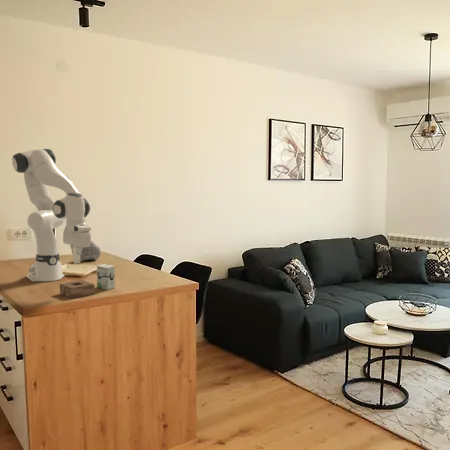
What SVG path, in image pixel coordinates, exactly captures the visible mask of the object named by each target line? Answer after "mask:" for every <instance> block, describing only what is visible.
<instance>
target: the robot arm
mask: <svg viewBox="0 0 450 450" xmlns="http://www.w3.org/2000/svg"><path fill="white" fill-rule="evenodd" d="M11 158H12V159H11V160H12V161H11V162H12V163H11V164H12V166H13V169H14V171H16V172H17V173H21V174H23V179H24V183H25V188H26V191H27V195H28V197H29V201H30V203H31V204H32V205H34V206H35V208H37V210H36V211H34V212H32V213H30V214H29V215H28V217H27V225H28V227H29V228H30V229H31V230H32V231H33V234H34V235H35V240H36V254H35V261H34V262H33V264H32V265H31V266H30V267H29V268H28V271H29V273H28V274H26V275H25V277H26V278H27V279H29V280H30V281H31V282H53V281H59V280H61V279H62V278H64V277H65V274H64V273H63V268H62V267H63V266H62V262H61V261H60V252H59V240H58V238H57V237H56V235H55V233H54V230H53V229H56V228H59V227H61V226H62V225H63V224H64V223H65V222H66V224H65V227H64V229H63V233H62V242H63V244H66V245H69V247H70V250H71V254H72V255H73V245H74V246H77V248H78V251H77V255H81V251H82V249H83V247H89V246H90V244H91V241H92V239H91V238H92V237H91V236H92V235H91V231H92V229H91V228H92V227H91V225H89V224H87V222H86V217H87V216H88V215H89V213H90V212H91V206H90V203H89V201H88V200H87V199H86V198H85V197H84V195H82V194H81V193H80V191H79V190H78V189H77V187H76V186H75V184H74V183H73V181H72V180H71V179H70V178H69V177H68V176H67V175H66V174H65V173H63V172H62V171H61V170H60V169H59V168H58V166H57V165H56V156H55V152H53V151H52V150H51V149H50V148H42V149H31V150H28V151H23V152H19V153H17V152H16V154H13V155H12V157H11ZM49 187H53V188H57V189H58V190H62V191H63V192H64V193H65V197H63V198H60V199H58V200H56V201H54V199H53V197H52V195H51V192H50V188H49Z"/></svg>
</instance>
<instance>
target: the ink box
mask: <svg viewBox="0 0 450 450" xmlns="http://www.w3.org/2000/svg"><path fill="white" fill-rule="evenodd" d="M115 270H116V269H115V266H114V265H111V264H106V263H105V264H104V263H102V264H98V265H97V266H96V288H98V289H102V290H107V291H108V290H112V289H113V290H114V289H115V287H116V286H115V285H116V283H115V282H116V281H115V278H116V276H115V273H116V272H115Z"/></svg>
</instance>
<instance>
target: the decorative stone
mask: <svg viewBox="0 0 450 450" xmlns="http://www.w3.org/2000/svg"><path fill="white" fill-rule="evenodd" d="M101 254H102V253H101V249H100V247H99V245H97V244H96V243H95V242H93V240H91V244H90V246H89V247H83V249H82V251H81V255H80V261H83V262H84V261H96V260H98V259H99V258H100V257H101Z"/></svg>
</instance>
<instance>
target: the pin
mask: <svg viewBox="0 0 450 450" xmlns="http://www.w3.org/2000/svg"><path fill="white" fill-rule="evenodd" d="M77 251H78V248H77V246H74V245H73V254H72V256H73V259H72V261H73V264H81V260H80V255H77Z"/></svg>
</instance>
